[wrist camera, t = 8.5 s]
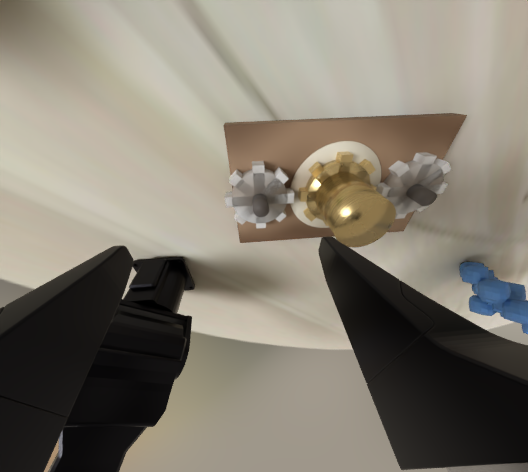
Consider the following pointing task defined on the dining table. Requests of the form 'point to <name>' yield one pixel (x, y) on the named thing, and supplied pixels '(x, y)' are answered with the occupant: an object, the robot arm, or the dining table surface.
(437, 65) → the dining table surface
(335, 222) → the brass gear
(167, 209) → the dining table surface
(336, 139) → the gear board
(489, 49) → the dining table surface
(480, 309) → the grapes
